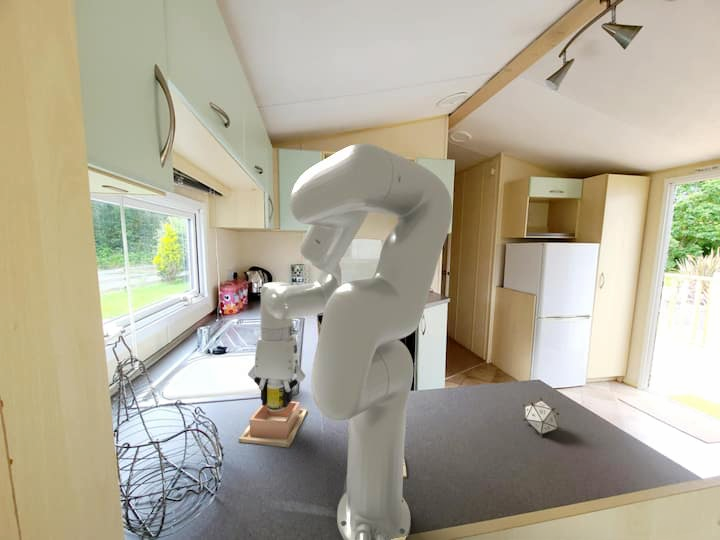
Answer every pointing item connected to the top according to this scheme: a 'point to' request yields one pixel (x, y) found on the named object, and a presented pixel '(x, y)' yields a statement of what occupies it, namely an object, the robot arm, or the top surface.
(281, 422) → the peach square bin
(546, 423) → the game die
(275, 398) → the supplement bottle
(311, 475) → the top surface
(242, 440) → the tray
